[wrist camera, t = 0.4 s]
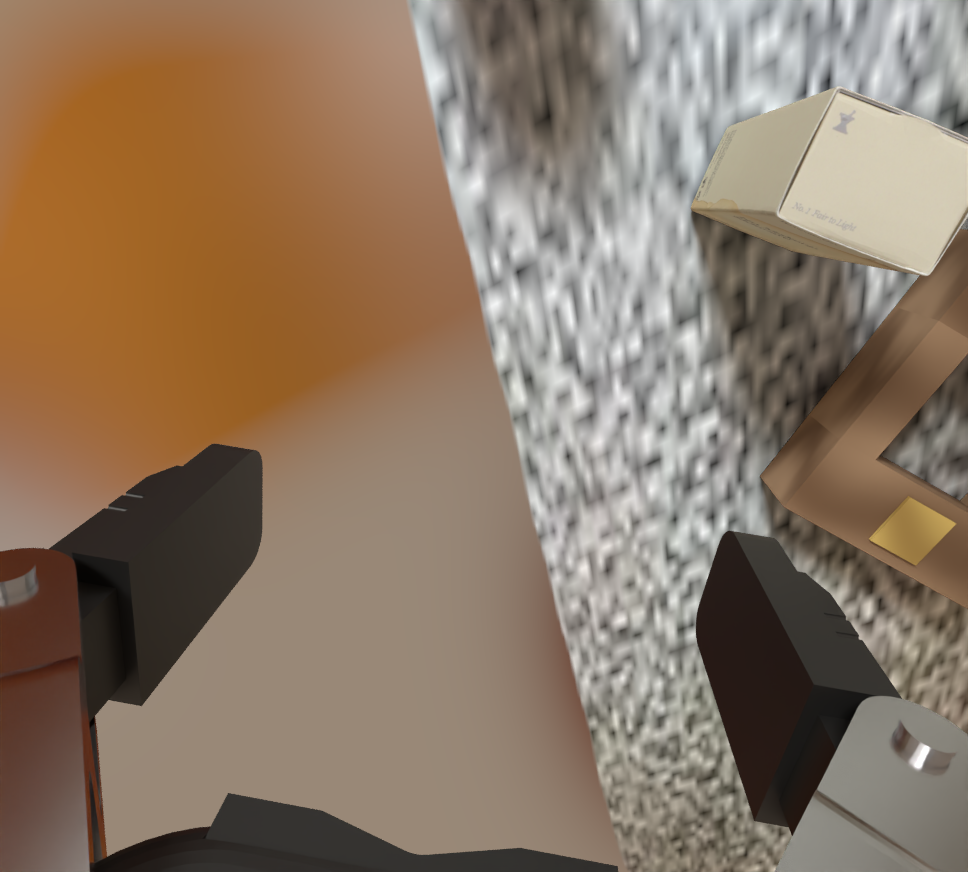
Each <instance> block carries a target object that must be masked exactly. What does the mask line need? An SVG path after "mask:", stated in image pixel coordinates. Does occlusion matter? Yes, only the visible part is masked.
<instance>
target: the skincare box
mask: <svg viewBox="0 0 968 872" xmlns="http://www.w3.org/2000/svg"><path fill="white" fill-rule="evenodd" d="M691 210H692V211H694V212H696V213H699V214H701V215H704V216H706V217H708V218H711V219H713V220H715V221H718V222H720V223H722V224H725V225H727V226H729V227H732V228H734V229H737V230H739V231H742V232H744V233H747V234H749V235H752V236H754V237H757V238H759V239H762V240H764V241H767V242H770V243H772V244H775V245H777V246H780V247H783V248H785V249H788V250H790V251H794V252H799V253H803V254H808V255H813V256H818V257H824V258H829V259H835V260H840V261H845V262H851V263H856V264H862V265H867V266H873V267H878V268H883V269H889V270H895V271H900V272H905V273H911V274H916V275H921V276H928V275H930V274H931V272H932V271H933V270H934V268H935V267H936V265H937V264H938V262H939V260H940V259H941V257H942V256H943V254H944V253H945V251H946V249H947V248H948V246H949V245H950V243H951V242H952V240H953V239H954V237H955V235H956V234H957V232H958V231H959V229H960V228H961V226H962V225H963V223H964V222H965V220H966V218H967V217H968V138H967V137H965V136H962V135H960V134H958V133H956V132H953V131H951V130H949V129H947V128H944V127H942V126H940V125H937V124H935V123H933V122H931V121H928V120H926V119H923V118H921V117H918V116H915V115H913V114H910V113H908V112H905V111H903V110H900V109H898V108H895V107H893V106H890V105H887V104H884V103H882V102H879V101H877V100H874V99H872V98H869V97H866V96H864V95H861V94H858V93H855V92H853V91H850V90H848V89H846V88H843V87H835V88H833V89H830V90H827V91H824V92H822V93H819V94H816V95H814V96H811V97H809V98H806V99H803V100H800V101H797V102H794V103H792V104H789V105H786V106H784V107H781V108H778V109H776V110H773V111H770V112H767V113H764V114H762V115H759V116H756V117H754V118H751V119H748V120H745V121H743V122H740V123H737V124H734V125H732V126H729V127H728V128H727V129H726V131H725V133H724V135H723V137H722V139H721V142H720V144H719V146H718V148H717V150H716V152H715V154H714V156H713V158H712V160H711V163H710V165H709V167H708V169H707V171H706V173H705V176H704V178H703V180H702V182H701V185H700V187H699V189H698V192H697V194H696V197H695V199H694V201H693V203H692V206H691Z"/></svg>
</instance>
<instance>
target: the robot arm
mask: <svg viewBox="0 0 968 872" xmlns="http://www.w3.org/2000/svg"><path fill="white" fill-rule="evenodd" d="M261 536H262V459H261V455H260V453H259V452H258V451H256V450H250V449H244V448H238V447H232V446H226V445H220V444H211V445H210V446H208V447H207V448H206V449H204V450H203V451H202V452H200V453H199V454H198V455H197V456H195V457H194V458H193V459H191V460H190V461H189V462H188V463H186V464H185V465H184V466H174V467H172V468H169V469H166V470H164V471H161V472H158V473H156V474H153V475H150V476H148V477H146V478H145V479H144V480H142V481H141V482H139V483H138V484H137V485H135V486H134V487H132V488H131V489H130V490H128V491H127V492H126V495H125V496H123V495H122V496H120V497H119V498H117V499H116V500H115V501H113V502H112V503H111V504H109V507H108V509H105V508H104V509H102V510H101V511H100V512H98V513H97V514H96V515H94V516H93V517H92V518H90V519H89V520H87V521H86V522H85V523H83V524H82V525H81V526H79V527H78V528H77V529H75V530H74V531H72V532H71V533H70V534H68V535H67V536H66V537H64V538H63V539H61V540H60V541H59V542H57V543H56V544H55V545H53V546H52V547H51V548H49V549H44V548H20V549H11V550H6V551H0V872H618V867H617V866H613V865H608V864H603V863H598V862H592V861H587V860H581V859H576V858H571V857H565V856H560V855H555V854H550V853H544V852H538V851H534V850H528V849H523V848H514V849H500V850H487V851H474V852H460V853H447V854H433V855H417V854H412V853H409V852H407V851H404V850H402V849H400V848H398V847H396V846H394V845H392V844H390V843H388V842H386V841H384V840H382V839H380V838H377V837H375V836H373V835H371V834H369V833H367V832H365V831H363V830H361V829H359V828H357V827H355V826H352V825H350V824H348V823H346V822H344V821H342V820H340V819H338V818H336V817H334V816H332V815H330V814H328V813H325V812H323V811H320V810H315V809H310V808H305V807H299V806H294V805H289V804H283V803H278V802H273V801H267V800H262V799H257V798H251V797H246V796H241V795H235V794H230V793H228V795H227V797H226V798H225V800H224V803H223V804H222V806H221V808H220V810H219V812H218V814H217V816H216V818H215V819H214V821H213V823H212V825H211V827H199V828H193V829H188V830H183V831H177V832H172V833H169V834H165V835H162V836H158V837H155V838H152V839H148V840H145V841H143V842H140V843H138V844H135V845H133V846H130V847H128V848H125V849H123V850H120V851H118V852H116V853H114V854H112V855H110V856H108V857H107V850H106V849H107V848H106V837H105V825H104V812H103V799H102V787H101V775H100V763H99V762H100V761H99V750H98V737H97V726H96V719H95V715H96V714H97V713H98V712H99V710H100V709H101V708H102V707H103V706H104V704H105V703H106V702H107V701H108V700H112V701H117V702H123V703H128V704H134V705H140V706H142V705H143V704H144V702H145V701H146V700H147V699H148V697H149V696H150V695H151V693H152V692H153V691H154V689H155V688H156V687H157V686H158V684H159V683H160V682H161V680H162V679H163V678H164V677H165V675H166V674H167V673H168V671H169V670H170V669H171V667H172V666H173V665H174V664H175V663H176V661H177V660H178V659H179V657H180V656H181V655H182V653H183V652H184V651H185V650H186V648H187V647H188V646H189V644H190V643H191V642H192V641H193V639H194V638H195V637H196V635H197V634H198V633H199V632H200V630H201V629H202V628H203V626H204V625H205V624H206V623H207V621H208V620H209V619H210V617H211V616H212V615H213V614H214V612H215V611H216V610H217V608H218V607H219V606H220V605H221V603H222V602H223V601H224V599H225V598H226V597H227V596H228V594H229V593H230V592H231V590H232V589H233V588H234V587H235V585H236V584H237V583H238V581H239V580H240V579H241V578H242V576H243V575H244V574H245V572H246V571H247V570H248V569H249V567H250V566H251V564H252V563H253V561H254V559H255V557H256V555H257V552H258V549H259V546H260V542H261ZM858 637H859V635H858V633H857V632H856V631H855V629H854V628H853V626H852V625H851V623H850V622H849V621H846V616H845V614H844V613H843V611H842V610H841V609H840V607H839V606H838V604H837V603H836V601H835V600H834V598H833V597H832V595H831V594H830V593H829V592H827V591H826V590H825V589H824V588H823V587H821V586H820V585H819V584H818V583H817V582H815V581H814V580H813V579H812V578H810V577H809V576H808V575H807V574H806V573H803V572H797V570H796V569H795V567H794V566H793V564H792V563H791V561H790V559H789V558H788V556H787V555H786V553H785V552H784V550H783V548H782V547H781V545H780V544H779V542H778V541H777V540H776V539H775V538H770V537H764V536H758V535H752V534H746V533H740V532H734V531H727V532H726V533H725V534H724V535H723V536H722V538H721V540H720V543H719V545H718V548H717V552H716V555H715V558H714V561H713V564H712V567H711V570H710V573H709V576H708V579H707V582H706V585H705V588H704V591H703V594H702V598H701V601H700V604H699V607H698V612H697V618H696V638H697V644H698V647H699V650H700V653H701V656H702V659H703V663H704V666H705V669H706V672H707V675H708V678H709V681H710V684H711V687H712V691H713V694H714V697H715V700H716V703H717V706H718V709H719V712H720V715H721V719H722V722H723V725H724V728H725V731H726V734H727V737H728V740H729V743H730V747H731V750H732V753H733V756H734V759H735V762H736V765H737V768H738V771H739V775H740V778H741V781H742V784H743V787H744V790H745V793H746V796H747V799H748V803H749V806H750V809H751V812H752V815H753V818H754V821H757V822H763V823H768V824H774V825H779V826H784V827H789V829H790V831H791V834H792V838H791V840H790V842H789V844H788V846H787V848H786V850H785V852H784V854H783V856H782V858H781V860H780V862H779V864H778V866H777V868H776V870H775V872H968V735H967V734H966V733H965V732H964V731H962V730H961V729H960V728H958V727H957V726H956V725H954V724H953V723H951V722H950V721H948V720H947V719H946V718H944V717H942V716H940V715H939V714H937V713H935V712H933V711H931V710H929V709H927V708H925V707H923V706H921V705H918V704H916V703H913V702H910V701H907V700H904V699H902V698H901V696H900V695H899V693H898V692H897V690H896V689H895V688H894V686H893V685H892V683H891V682H890V680H889V679H888V677H887V676H886V674H885V673H884V671H883V670H882V669H881V667H880V666H879V664H878V663H877V661H876V660H875V658H874V657H873V655H872V654H871V652H870V651H869V650H868V648H867V647H866V645H865V644H864V642H863V641H862V640H859V639H858Z"/></svg>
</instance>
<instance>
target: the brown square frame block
mask: <svg viewBox="0 0 968 872" xmlns="http://www.w3.org/2000/svg"><path fill="white" fill-rule="evenodd" d="M967 354H968V230H964V229H959V231H958V232H957V234H956V235H955V237H954V239H953V240H952V242H951V243H950V245H949V246H948V248H947V249H946V251H945V253H944V254H943V256H942V257H941V259H940V260H939V262H938V264H937V265H936V267H935V268H934V270H933V271H932V272H931V274H930V275H928V276H921V275H920V276H919V277H918V279H917V280H916V281H915V282H914V284H913V285H912V286H911V287H910V289H909V290H908V291H907V292H906V294H905V295H904V296H903V297H902V299H901V300H900V301H899V302H898V304H897V305H896V306H895V307H894V309H893V310H892V311H891V312H890V314H889V315H888V316H887V317H886V319H885V320H884V321H883V323H882V324H881V325H880V326H879V328H878V329H877V330H876V331H875V333H874V334H873V335H872V336H871V338H870V339H869V340H868V341H867V343H866V344H865V345H864V346H863V348H862V349H861V350H860V351H859V353H858V354H857V355H856V356H855V358H854V359H853V360H852V361H851V363H850V364H849V365H848V366H847V368H846V369H845V370H844V371H843V373H842V374H841V375H840V376H839V378H838V379H837V380H836V381H835V383H834V384H833V385H832V386H831V388H830V389H829V390H828V391H827V393H826V394H825V395H824V396H823V398H822V399H821V400H820V401H819V403H818V404H817V405H816V406H815V408H814V409H813V410H812V411H811V413H810V414H809V415H808V416H807V418H806V419H805V420H804V421H803V423H802V424H801V425H800V427H799V428H798V429H797V430H796V432H795V433H794V434H793V435H792V437H791V438H790V439H789V440H788V442H787V443H786V444H785V445H784V447H783V448H782V449H781V450H780V452H779V453H778V454H777V455H776V457H775V458H774V459H773V460H772V462H771V463H770V464H769V465H768V467H767V468H766V469H765V470H764V472H763V473H762V474H761V475H760V477H761V478H762V480H763V481H764V482H765V483H766V485H767V486H768V487H769V489H770V490H771V491H772V493H773V494H774V495H775V496H776V498H777V499H778V500H779V502H780V503H781V504H782V505H783V507H785V508H786V509H788V510H790V511H792V512H794V513H795V514H797V515H799V516H801V517H803V518H804V519H806V520H808V521H810V522H812V523H814V524H815V525H817V526H819V527H821V528H823V529H824V530H826V531H828V532H830V533H832V534H833V535H835V536H837V537H839V538H841V539H842V540H844V541H846V542H848V543H850V544H851V545H853V546H855V547H857V548H859V549H860V550H862V551H864V552H866V553H868V554H869V555H871V556H873V557H875V558H877V559H878V560H880V561H882V562H884V563H886V564H887V565H889V566H891V567H893V568H895V569H897V570H898V571H900V572H902V573H904V574H906V575H907V576H909V577H911V578H913V579H915V580H916V581H918V582H920V583H922V584H924V585H925V586H927V587H929V588H931V589H933V590H934V591H936V592H938V593H940V594H942V595H943V596H945V597H947V598H949V599H951V600H952V601H954V602H956V603H958V604H960V605H961V606H963V607H965V608H967V609H968V493H967V494H966V495H965V496H964V497H963V498H962V499H961V500H960V501H959V500H957V499H956V498H954V497H952V496H950V495H949V494H947V493H945V492H943V491H942V490H940V489H938V488H936V487H935V486H933V485H931V484H930V483H928V482H926V481H924V480H923V479H921V478H919V477H917V476H916V475H914V474H912V473H910V472H909V471H907V470H905V469H903V468H902V467H900V466H898V465H896V464H895V463H893V462H891V461H889V460H888V459H886V458H884V457H883V456H881V455H880V454H881V453H882V452H883V451H884V450H885V449H886V447H887V446H888V445H889V444H890V443H891V442H892V440H893V439H894V438H895V437H896V436H897V435H898V434H899V432H900V431H901V430H902V429H903V428H904V427H905V426H906V424H907V423H908V422H909V421H910V420H911V419H912V417H913V416H914V415H915V414H916V413H917V412H918V411H919V409H920V408H921V407H922V406H923V405H924V404H925V403H926V401H927V400H928V399H929V398H930V397H931V396H932V394H933V393H934V392H935V391H936V390H937V389H938V388H939V386H940V385H941V384H942V383H943V382H944V381H945V380H946V378H947V377H948V376H949V375H950V374H951V373H952V371H953V370H954V369H955V368H956V367H957V366H958V365H959V363H960V362H961V361H962V360H963V359H964V358H965V357H966V355H967Z"/></svg>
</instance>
